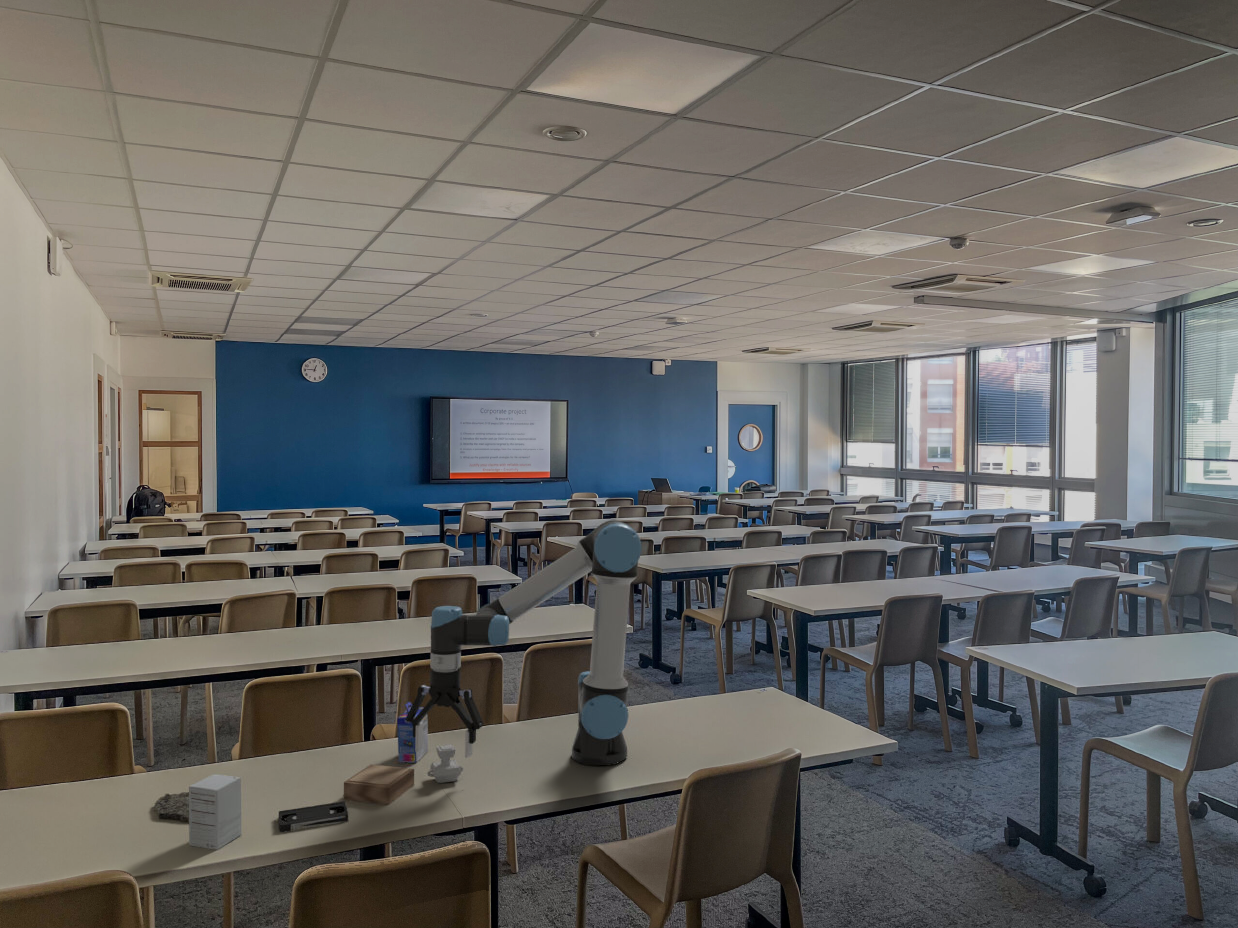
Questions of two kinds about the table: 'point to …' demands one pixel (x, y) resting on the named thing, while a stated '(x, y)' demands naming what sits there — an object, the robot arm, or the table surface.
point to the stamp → (445, 765)
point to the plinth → (379, 784)
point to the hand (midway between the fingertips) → (443, 752)
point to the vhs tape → (312, 816)
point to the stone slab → (173, 806)
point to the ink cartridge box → (410, 737)
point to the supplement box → (214, 811)
